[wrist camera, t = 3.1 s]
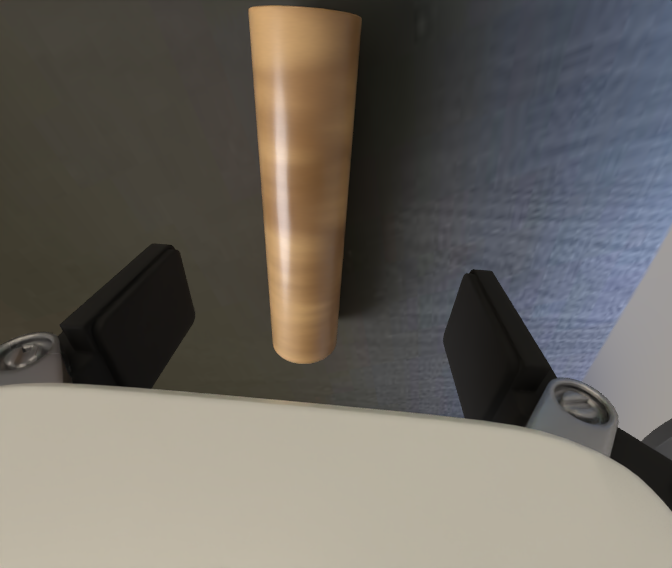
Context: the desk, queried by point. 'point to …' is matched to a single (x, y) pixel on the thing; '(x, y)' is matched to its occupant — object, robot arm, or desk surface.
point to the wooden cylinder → (304, 165)
